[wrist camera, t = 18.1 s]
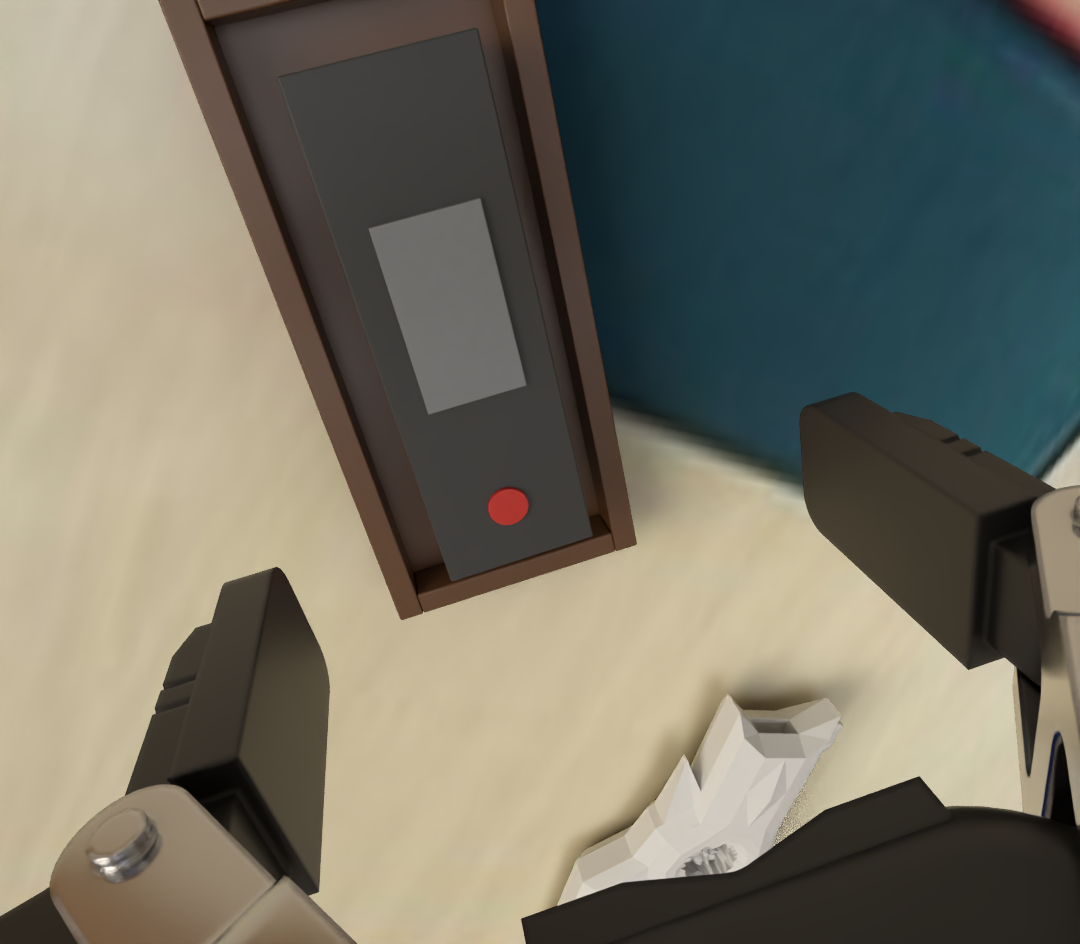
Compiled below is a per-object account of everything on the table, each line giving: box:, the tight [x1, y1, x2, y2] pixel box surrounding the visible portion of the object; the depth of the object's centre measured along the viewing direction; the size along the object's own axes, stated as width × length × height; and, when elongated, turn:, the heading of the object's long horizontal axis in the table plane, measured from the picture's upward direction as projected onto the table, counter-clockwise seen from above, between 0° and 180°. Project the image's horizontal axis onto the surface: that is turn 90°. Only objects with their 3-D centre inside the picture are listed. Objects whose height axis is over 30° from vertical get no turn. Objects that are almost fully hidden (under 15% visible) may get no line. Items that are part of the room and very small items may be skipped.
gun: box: [557, 694, 843, 906], centre depth 35 cm, size 18×3×10 cm
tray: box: [158, 0, 637, 620], centre depth 23 cm, size 9×19×2 cm, turn 13°
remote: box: [277, 28, 593, 581], centre depth 21 cm, size 14×5×4 cm, turn 13°
